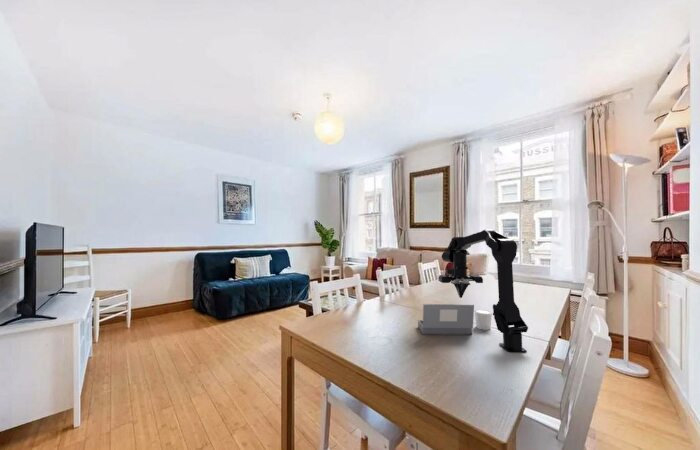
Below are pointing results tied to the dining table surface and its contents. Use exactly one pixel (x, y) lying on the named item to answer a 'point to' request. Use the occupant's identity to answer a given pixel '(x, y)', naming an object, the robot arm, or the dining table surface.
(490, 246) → the robot arm
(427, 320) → the lid flap
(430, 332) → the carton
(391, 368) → the dining table surface
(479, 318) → the shot glass
